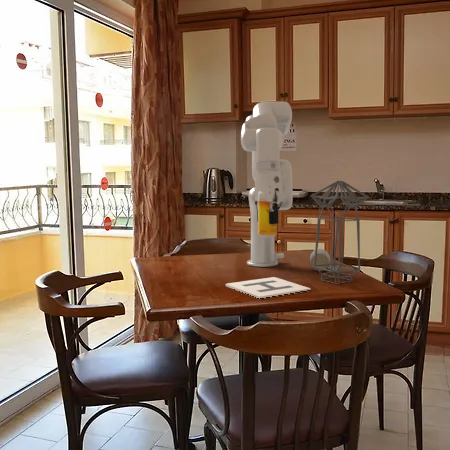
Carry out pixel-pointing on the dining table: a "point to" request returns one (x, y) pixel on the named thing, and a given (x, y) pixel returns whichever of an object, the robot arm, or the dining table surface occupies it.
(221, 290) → the dining table surface
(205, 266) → the dining table surface
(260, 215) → the beer can
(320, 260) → the ceramic mug
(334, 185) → the geometric lantern
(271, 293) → the letter board
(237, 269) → the dining table surface
